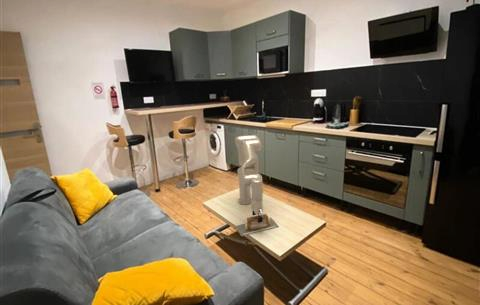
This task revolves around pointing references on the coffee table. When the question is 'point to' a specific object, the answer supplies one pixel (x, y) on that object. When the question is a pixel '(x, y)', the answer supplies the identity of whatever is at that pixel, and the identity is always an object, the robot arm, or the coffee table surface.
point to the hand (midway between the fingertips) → (257, 218)
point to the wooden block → (254, 224)
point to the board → (244, 229)
